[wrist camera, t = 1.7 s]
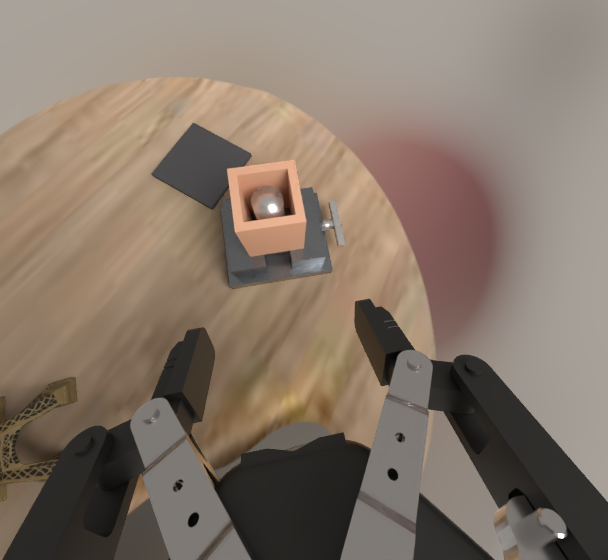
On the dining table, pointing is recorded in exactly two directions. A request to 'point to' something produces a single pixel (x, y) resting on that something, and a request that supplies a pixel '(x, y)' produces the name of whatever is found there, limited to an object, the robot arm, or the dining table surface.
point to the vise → (285, 263)
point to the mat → (201, 165)
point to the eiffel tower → (3, 460)
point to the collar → (271, 231)
